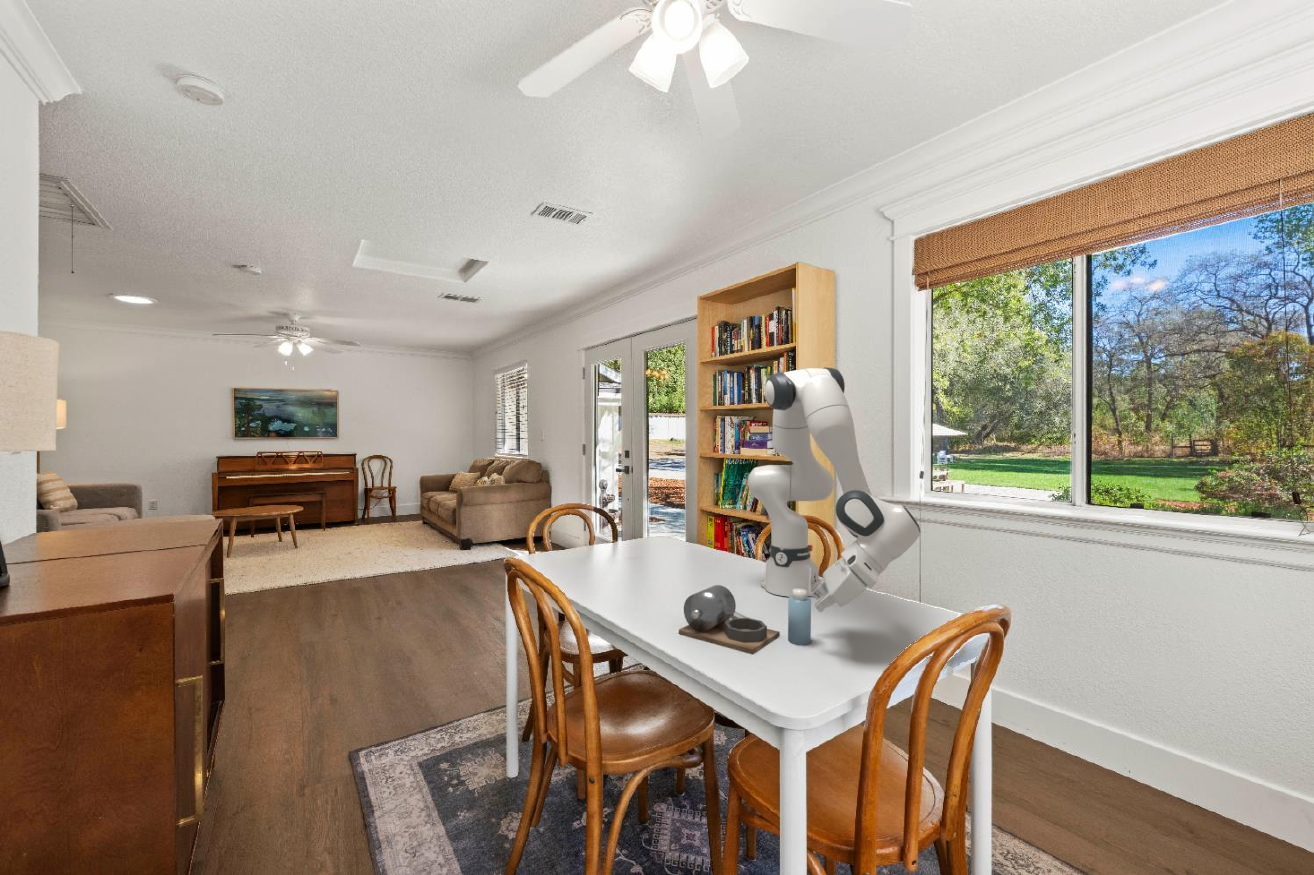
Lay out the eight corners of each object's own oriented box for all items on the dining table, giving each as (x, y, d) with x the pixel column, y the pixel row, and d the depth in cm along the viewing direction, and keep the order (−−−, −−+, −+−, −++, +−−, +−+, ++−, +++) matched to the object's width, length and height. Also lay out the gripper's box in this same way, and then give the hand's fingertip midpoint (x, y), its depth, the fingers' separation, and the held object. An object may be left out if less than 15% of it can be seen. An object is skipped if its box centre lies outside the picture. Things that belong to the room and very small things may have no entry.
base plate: (709, 618, 146) (709, 614, 146) (779, 635, 134) (779, 631, 134) (678, 633, 135) (678, 629, 135) (752, 654, 123) (752, 649, 123)
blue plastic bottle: (793, 635, 135) (793, 586, 135) (814, 640, 132) (814, 589, 131) (784, 641, 131) (784, 590, 130) (805, 646, 127) (805, 594, 127)
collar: (737, 625, 138) (738, 615, 138) (771, 633, 133) (771, 623, 133) (718, 636, 131) (719, 625, 131) (753, 645, 125) (754, 634, 125)
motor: (705, 616, 145) (705, 582, 145) (735, 624, 139) (735, 588, 139) (678, 629, 135) (679, 592, 135) (710, 638, 130) (710, 599, 130)
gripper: (844, 544, 139) (803, 581, 141) (856, 563, 119) (808, 605, 121) (863, 563, 138) (821, 599, 140) (878, 585, 118) (829, 627, 120)
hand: (815, 602), depth 130 cm, fingers open, 8 cm apart
